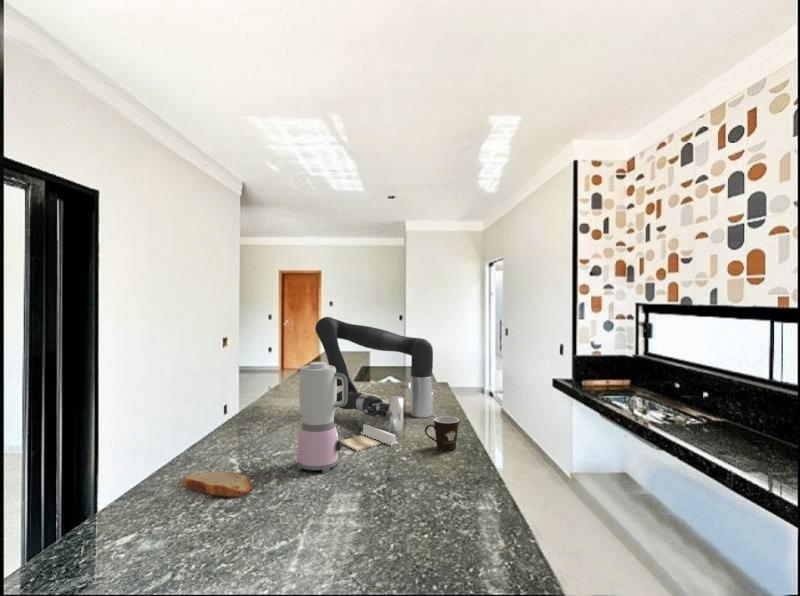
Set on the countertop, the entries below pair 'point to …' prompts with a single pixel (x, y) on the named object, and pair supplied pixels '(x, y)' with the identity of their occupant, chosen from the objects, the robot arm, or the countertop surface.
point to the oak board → (359, 442)
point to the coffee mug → (445, 432)
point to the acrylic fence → (379, 435)
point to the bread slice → (220, 484)
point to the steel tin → (396, 415)
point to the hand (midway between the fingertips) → (394, 412)
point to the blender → (319, 416)
